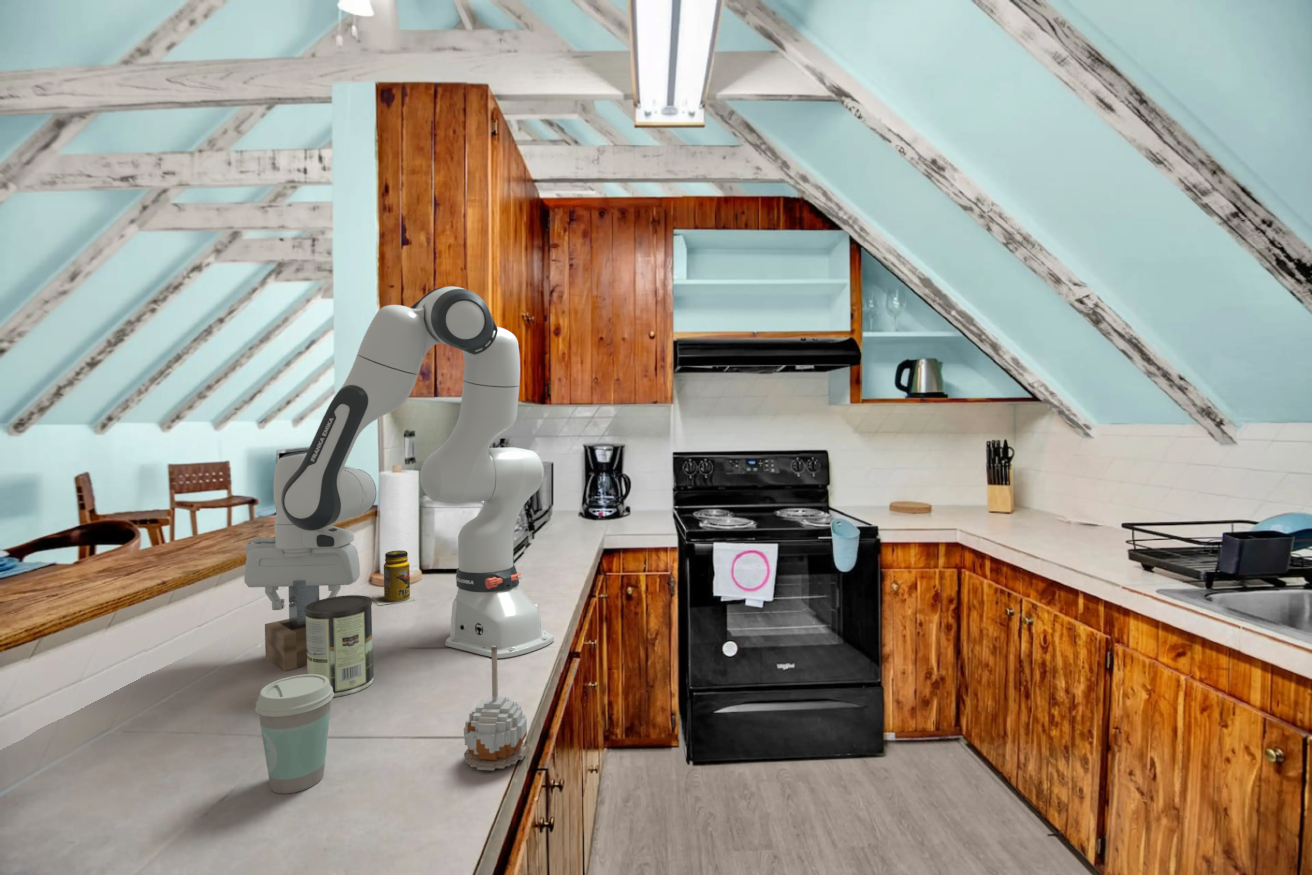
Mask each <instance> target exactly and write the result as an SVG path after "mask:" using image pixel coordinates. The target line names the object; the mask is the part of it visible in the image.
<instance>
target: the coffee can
mask: <svg viewBox="0 0 1312 875" xmlns="http://www.w3.org/2000/svg"><path fill="white" fill-rule="evenodd" d="M372 605H373V598H372V597H371V596H370V597H369V596H366V595H359V594H355V595H354V594H353V595H352V594H351V595H349V594H348V595H347V594H346V595H336V597H331V598H328V597H325V598H323V599H319V600H318V601H315V602H312V603H310V604H308V605H307V606H305V608H304V609H305V614H306V641H307V665H306V668H307V669H306V670H307V674H317V675H323V676H325V677H327V678H328V680H329V682H330V685H331V686H332V688H333V692H334V696H333V698H338V697H344V696H348V695H351V694H355V693H358V692H360V691H363V690H364V689H365V690H366V689H367V688H368V687H370V686H371V685H372V684H373V683H374V681H375V677H374V660H373V658H374V657H373V656H374V655H373V653H374V650H373V624H372V623H373V620H372V618H373V616H372V614H373V612H372Z"/></svg>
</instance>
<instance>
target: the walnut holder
mask: <svg viewBox="0 0 1312 875" xmlns="http://www.w3.org/2000/svg"><path fill="white" fill-rule="evenodd" d="M264 640H265V641H264V644H265V645H264V646H265V651H264V652H265V659H267V660H268V661H269V662H271V663H272V664H274V665H275V666H277V667H278V668H280V669H281V670H283V671H284V672H288V671H291V670H294V669H298V668H301V667H305V666H306V667H307V641H306V627H304V628H300V629H295V630H291V629H289V618H286V619H282V620H278V621H272V622H268V623H265V624H264Z"/></svg>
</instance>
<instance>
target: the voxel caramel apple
mask: <svg viewBox="0 0 1312 875" xmlns="http://www.w3.org/2000/svg"><path fill="white" fill-rule="evenodd" d="M491 652H492V657H491V693H492V694H491V695H492V696H489V697H488V698H487V699H486V700H485V699H484V700H480V702H479V703H478V704H477V705H476V706H475V707H474V708H473V710H471V712H470V713H469V716H468V717H469V718H468V717H467V720H466V721H465V724H464V727H463V737H464V746H466V747H467V749H466V750H465V751H464V752H463V753H464V754H463V757H464V762H465V763H467V765H468V766H469V767H470V768H476V770H480V771H495V769H505V768H506V767H510V766H511V765H516V764H517V762H518V761H519V760H520V761H523V760H524V758H525V755H526V754H527V752H528V747H527V746H526V742H524V740H525V739H526V737H527V734H528V730H527V728H528V726H527V723H528V721H527V718H526V714H523V709H522V706H521V705H519V704H518V703H517V701H513V700H512V701H511V699H510V698H509V697H506V696H499V694H498V693H499V690H498V689H499V688H498V685H499V684H498V683H499V682H498V658H497V646H492V647H491Z"/></svg>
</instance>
